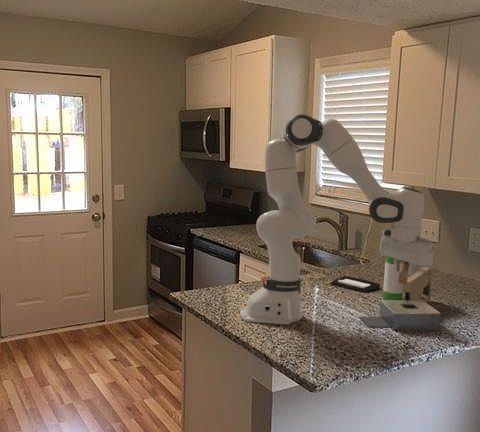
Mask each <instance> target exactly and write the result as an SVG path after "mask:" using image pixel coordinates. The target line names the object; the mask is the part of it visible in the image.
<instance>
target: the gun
mask: <svg viewBox="0 0 480 432" xmlns="http://www.w3.org/2000/svg"><path fill="white" fill-rule="evenodd" d="M431 276H433V271H432V269H431V268H430V267H428V266H427V267H424V266H422V267H421V268H420V269H418V270H417V271H415V272H414V273H412V275H409V276H408V279H407V284H403V293H404V296H402V300H422V301H424V302H426V303H430V302H431V299H432V293H433V288H432V278H431Z"/></svg>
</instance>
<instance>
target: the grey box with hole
mask: <svg viewBox="0 0 480 432" xmlns="http://www.w3.org/2000/svg"><path fill="white" fill-rule="evenodd" d="M378 317H381V318H382V319H383V320H384V321H385V322H386V323H387V324H388V325H389V326H390V327H389V328H390V329H391V330H392V331H395V332H396V331H397V332H398V331H400V332H401V331H402V332H403V331H404V332H405V331H406V332H408V331H410V332H411V331H412V332H414V331H415V332H416V331H420V332H423V331H424V332H426V331H427V332H439V331H440V330H439V329H440V318H441V312H440V311H438V310H437V309H435V308H434V307H433V306H432V305H430V304H429V303H428V302H424V301H422V300H403V299H401V300H386V299H380V305H379V316H378Z"/></svg>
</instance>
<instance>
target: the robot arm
mask: <svg viewBox="0 0 480 432" xmlns="http://www.w3.org/2000/svg"><path fill="white" fill-rule="evenodd" d="M312 145H313V146H314V145H315V146H316V147H318V148H319V149H320V150H321V151H322V152H323V153H324V155H325V156H326V158H327V159H328V160H329V162H330V163H331V164H332V165H333V166H334V167H335V169H336V170H337V171H339V173H342V174H344V175H346V176H348V177H350V178H351V179H352V180H353V181H354V182H355V184H356V185H357V186H358V187H359V189H360V190H361V191H362V193H363V194H364V196H365V197H366V199H367V201H368V203H369V207H368V212H369V216H370V217H371V219H372V220H373V221H375V222H376V223H379V224H391V223H395V224H394V227H395V228H394V227H392V228H386V229H383V230H382V232H381V233H382V234H381V235H382V237H381V239H380V244H379V253H380V255H381V256H385V257H386V256H388V257H391V258H394V260H393V261H394V264H395V266H396V268H395V271H397V272H399V269H400V263H399V261H400V260H402V261H406V262H409V269H406V274H407V275H408V276H412V275H413V271H414V269H415V267H417V265H418V266H422V267H427V268H428V267H431V266H432V265H433V263H434V262H433V261H434V251H433V250H434V244H433V242H432V241H431V240H430V239H429V238H424V237H422V227H423V224H422V219H423V215H424V211H425V209H424V208H425V198H424V194H423V193H422V192H421V190H419V189H415V188H412V187H407V186H402V187H400V188H399V189H397V190H394V191H392V192H389V191H387V190H385V189H384V188H383V187H382V186H381V185H380V184H379V182H378V180H377V179H376V178H375V177H374V175H373V174H372V172H371V171H370V170H369V167H368V165H367V163H366V160H365V158H364V155H363V152H362V150H361V149H360V147H359V145H358V143H357V142H356V140H355V139H354V137H353V136H352V134H351V133H349V131H348V130H347V129H346V128H345V126H343V125H342V124H341V122H339V121H338V119H337V120H336V119H335V118H328V119H326V120H323V121H322V122H321V120H318V119H316V118H314V117H312V116H310V115H306V114H303V113H301V114H296V115H293V116H292V117H291V118H290V119H289V120H288V121H287V122H286V125H285V129H284V134H283V136H281V137H279V138H275V139H272V140H270V141H268V143H267V144H266V146H265V149H264V170H265V179H266V180H265V181H266V190H267V194H268V195H269V197H270V198H272V199H274V201H275V202H276V205H277V207H278V209H275V210H269V211H267V212H265V213H263V214H261V215H260V216H259V217H258V218H257V220H256V225H255V226H256V228H255V229H256V232H257V236H259V238H260V239H261V240H262V241H263V242H264V243H265V245H266V248H267V252H268V258H269V260H268V261H269V262H268V263H269V267H268V276H267V277H266V276H265V275H261V277H260V280H261V282H262V287H260V288H259V289H258V290H256V291H254V292H253V293H251V294H250V296H248V299H247V301H246V306H243V307H241V308H240V311H239V315H240V318H241V319H242V320H243V321H245V322H249V323H262V324H275V325H291V323H294V322H297V321H300V320H301V319H303V314H302V308H301V301H300V300H301V299H300V298H301V297H300V294H301V290H302V279H301V262H302V260H301V256H300V255H299V253H297V252H296V251H295V249H294V245H293V240H296V239H301V238H305V237H307V236H309V235H311V234H312V233H314V232H315V229H316V227H317V220H316V219H317V218H316V216H315V214H314V212H312V210H310V209H309V208H308V206H307V205H306V203H305V201H304V199H303V196H302V192H301V190H300V185H299V179H298V169H297V163H296V162H297V161H296V156H297V153H299V152H301V151H304V150H307V149H308V148H309V147H310V146H312Z"/></svg>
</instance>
